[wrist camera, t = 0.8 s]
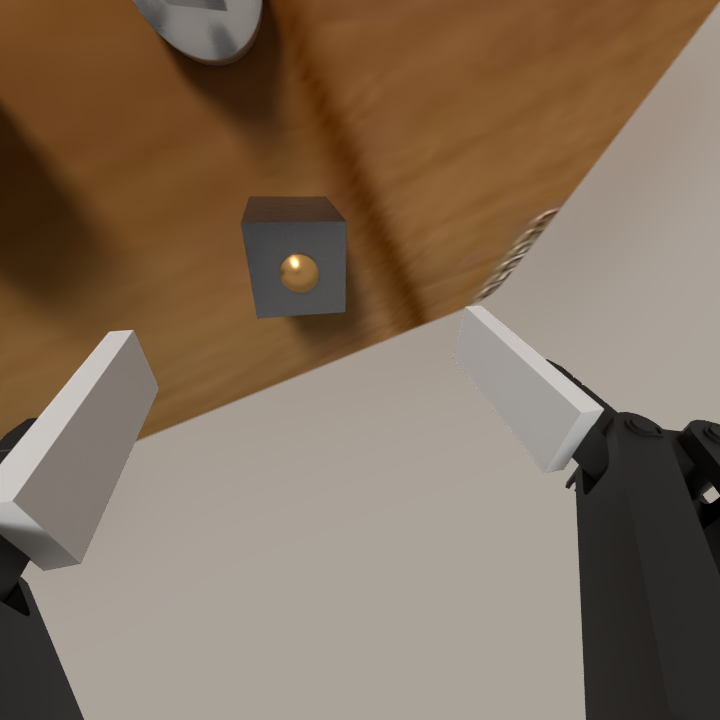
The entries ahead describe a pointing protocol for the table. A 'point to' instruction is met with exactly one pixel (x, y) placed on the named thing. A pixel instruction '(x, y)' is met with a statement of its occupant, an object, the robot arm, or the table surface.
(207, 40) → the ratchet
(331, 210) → the cube with brass button
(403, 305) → the table surface
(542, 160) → the table surface
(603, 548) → the robot arm
